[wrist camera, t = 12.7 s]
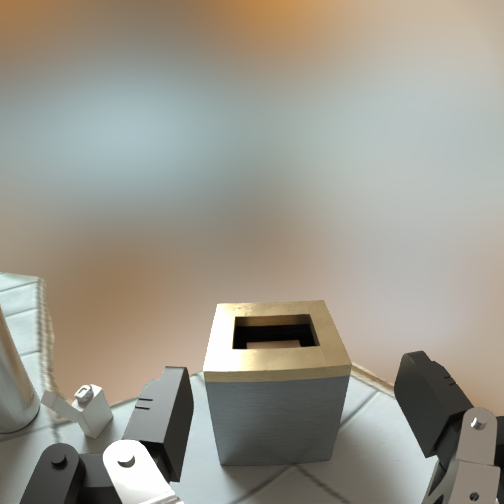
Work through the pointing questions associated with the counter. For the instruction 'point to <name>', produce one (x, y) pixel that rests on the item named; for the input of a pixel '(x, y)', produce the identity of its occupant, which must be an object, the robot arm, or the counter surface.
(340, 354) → the coin box
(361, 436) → the counter surface
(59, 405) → the lighter
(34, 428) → the counter surface
